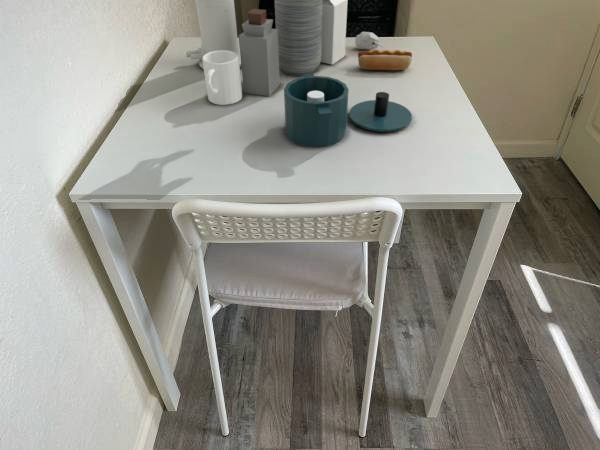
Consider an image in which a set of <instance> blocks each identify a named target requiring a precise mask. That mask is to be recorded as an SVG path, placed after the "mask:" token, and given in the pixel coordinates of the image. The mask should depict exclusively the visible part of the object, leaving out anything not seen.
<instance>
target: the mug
mask: <svg viewBox="0 0 600 450" xmlns="http://www.w3.org/2000/svg"><path fill="white" fill-rule="evenodd" d="M202 61H203V68H204V69H203V72H204V73H203V74H204V79H205V86H206V93H207V99H208V101H209V102H210V103H211V104H214V105H219V106H226V105H227V106H229V105H233V104H235V103H238V102H239V101H241V100H242V98H243V86H242V78H241V69H240V68H241V67H240V66H239V56H238V55H237V54H236V53H235V52H232V51H227V50H218V51H213V52H209V53H207V54H205V55H204V56H203V58H202Z"/></svg>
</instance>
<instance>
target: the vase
mask: <svg viewBox="0 0 600 450" xmlns="http://www.w3.org/2000/svg"><path fill="white" fill-rule="evenodd" d="M322 5H323V0H274V20H275V21H274V23H275V29H277V30H278V56H279V68H281V69H282V71H283V72H284V73H285V74H287V75H290V76H293V77H294V76H296V77H303V75H306V74H314V72H316V69H317V68H318V67H319V66H320V64H321V63H322V62H321V48H322Z"/></svg>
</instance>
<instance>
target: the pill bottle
mask: <svg viewBox="0 0 600 450" xmlns="http://www.w3.org/2000/svg"><path fill="white" fill-rule="evenodd" d="M307 101H310V102H323V101H324V93H323V92H321V91H310V92H308V94H307Z"/></svg>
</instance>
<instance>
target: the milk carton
mask: <svg viewBox="0 0 600 450" xmlns="http://www.w3.org/2000/svg"><path fill="white" fill-rule="evenodd" d="M348 1H349V0H323V5H322V48H321V62H320V63H324V64H328V65H335V64H336V63H337V62H339V61H340V60H341V59H343V58H344V57H345V55H346V52H345V51H346V38H347V37H346V36H347V19H348Z"/></svg>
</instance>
